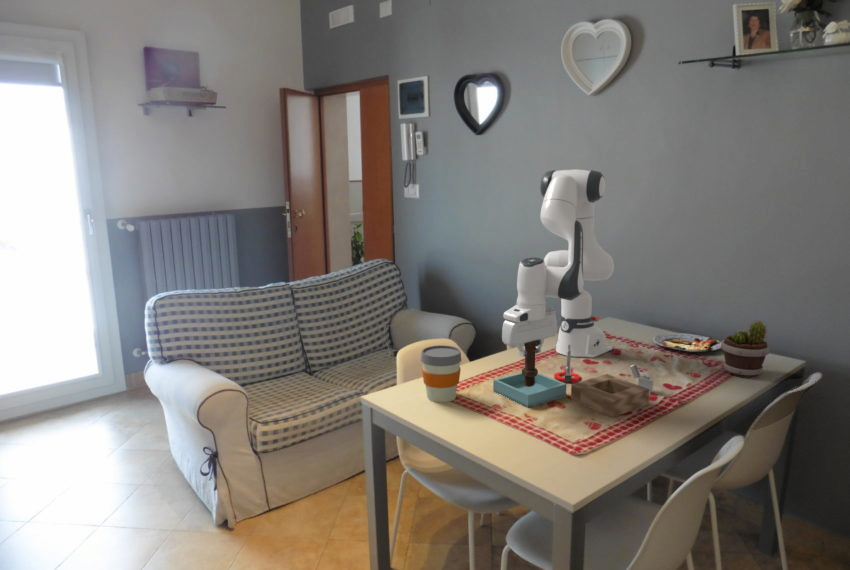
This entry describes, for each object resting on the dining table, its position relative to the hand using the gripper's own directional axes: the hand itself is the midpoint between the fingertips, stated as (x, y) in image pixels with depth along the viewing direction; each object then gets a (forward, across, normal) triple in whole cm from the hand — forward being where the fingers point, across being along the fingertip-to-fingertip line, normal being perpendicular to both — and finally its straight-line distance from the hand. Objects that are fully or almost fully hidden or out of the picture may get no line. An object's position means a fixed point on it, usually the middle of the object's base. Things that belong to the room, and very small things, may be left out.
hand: (530, 354), depth 189 cm
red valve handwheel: (+13, -20, -3) cm, 24 cm away
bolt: (+10, 0, 0) cm, 10 cm away
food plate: (+13, -85, -1) cm, 86 cm away
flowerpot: (+13, -72, +28) cm, 78 cm away
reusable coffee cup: (+13, +24, -14) cm, 31 cm away
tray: (+13, 0, 0) cm, 13 cm away
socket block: (+13, -15, +19) cm, 27 cm away
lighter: (+13, -31, +18) cm, 38 cm away
